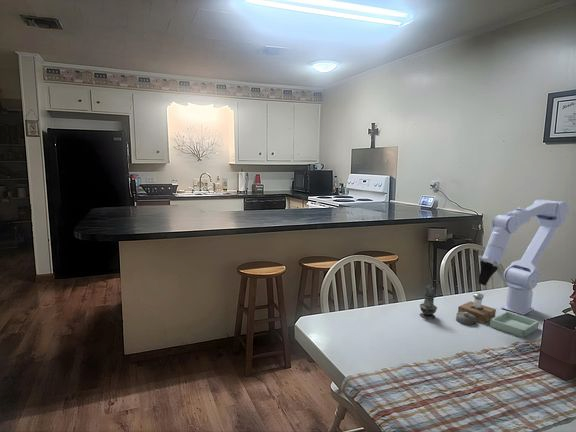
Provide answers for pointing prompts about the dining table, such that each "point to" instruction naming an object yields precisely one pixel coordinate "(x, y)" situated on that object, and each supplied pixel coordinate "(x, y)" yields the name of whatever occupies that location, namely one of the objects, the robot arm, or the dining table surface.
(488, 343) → the dining table surface
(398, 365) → the dining table surface
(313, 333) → the dining table surface
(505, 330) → the tray
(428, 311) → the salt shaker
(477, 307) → the lock pin
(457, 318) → the block
